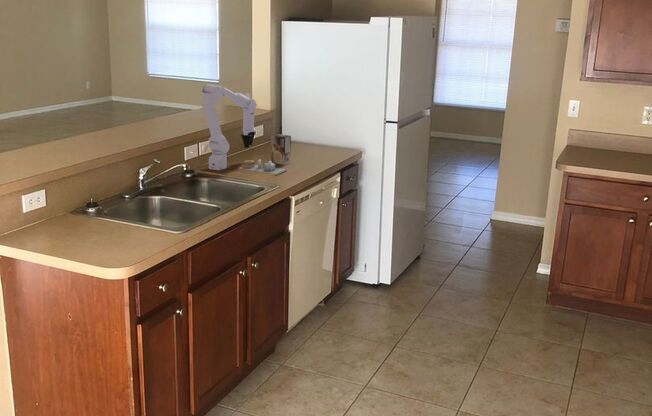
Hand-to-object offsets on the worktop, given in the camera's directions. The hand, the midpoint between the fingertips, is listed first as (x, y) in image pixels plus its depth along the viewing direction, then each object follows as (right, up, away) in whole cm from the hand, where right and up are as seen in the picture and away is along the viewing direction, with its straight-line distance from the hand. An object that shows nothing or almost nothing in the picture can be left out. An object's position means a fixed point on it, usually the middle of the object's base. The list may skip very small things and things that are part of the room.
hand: (248, 146), depth 361 cm
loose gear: (+1, -11, -8) cm, 14 cm away
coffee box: (+17, -10, +5) cm, 20 cm away
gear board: (+9, -14, -10) cm, 19 cm away
